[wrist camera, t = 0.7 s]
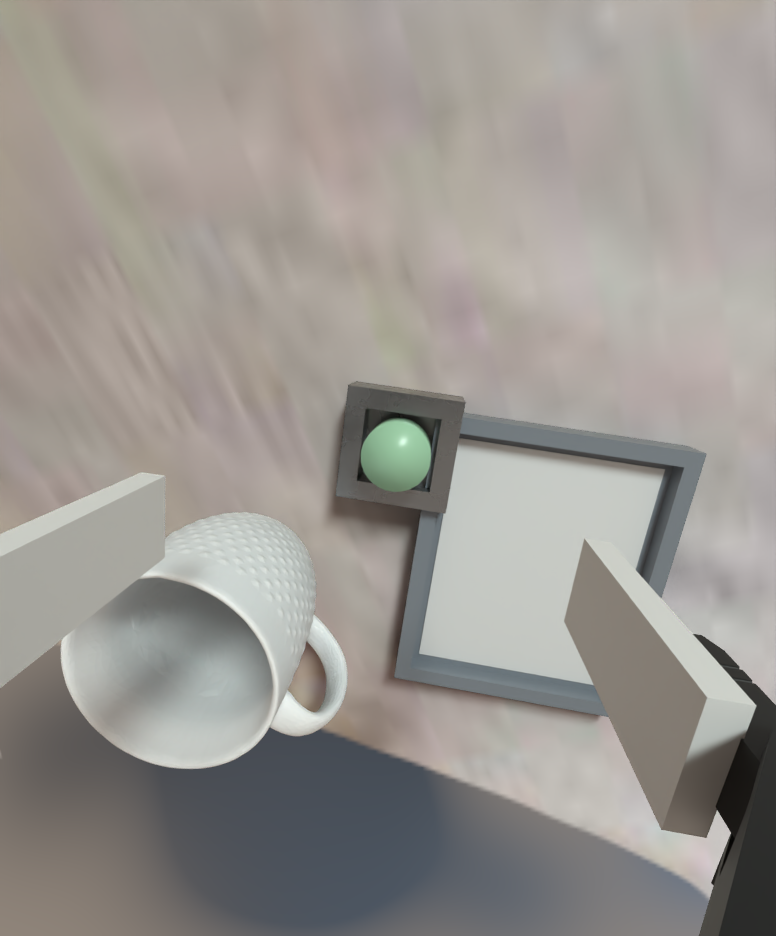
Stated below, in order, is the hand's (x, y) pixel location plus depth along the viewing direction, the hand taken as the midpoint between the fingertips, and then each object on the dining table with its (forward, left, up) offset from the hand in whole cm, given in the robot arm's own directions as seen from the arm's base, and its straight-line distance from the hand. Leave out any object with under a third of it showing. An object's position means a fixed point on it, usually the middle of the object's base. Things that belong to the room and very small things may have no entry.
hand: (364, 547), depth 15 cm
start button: (0, 0, -16) cm, 16 cm away
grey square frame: (0, 0, -18) cm, 18 cm away
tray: (+10, -7, -18) cm, 22 cm away
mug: (-8, -11, -19) cm, 23 cm away
